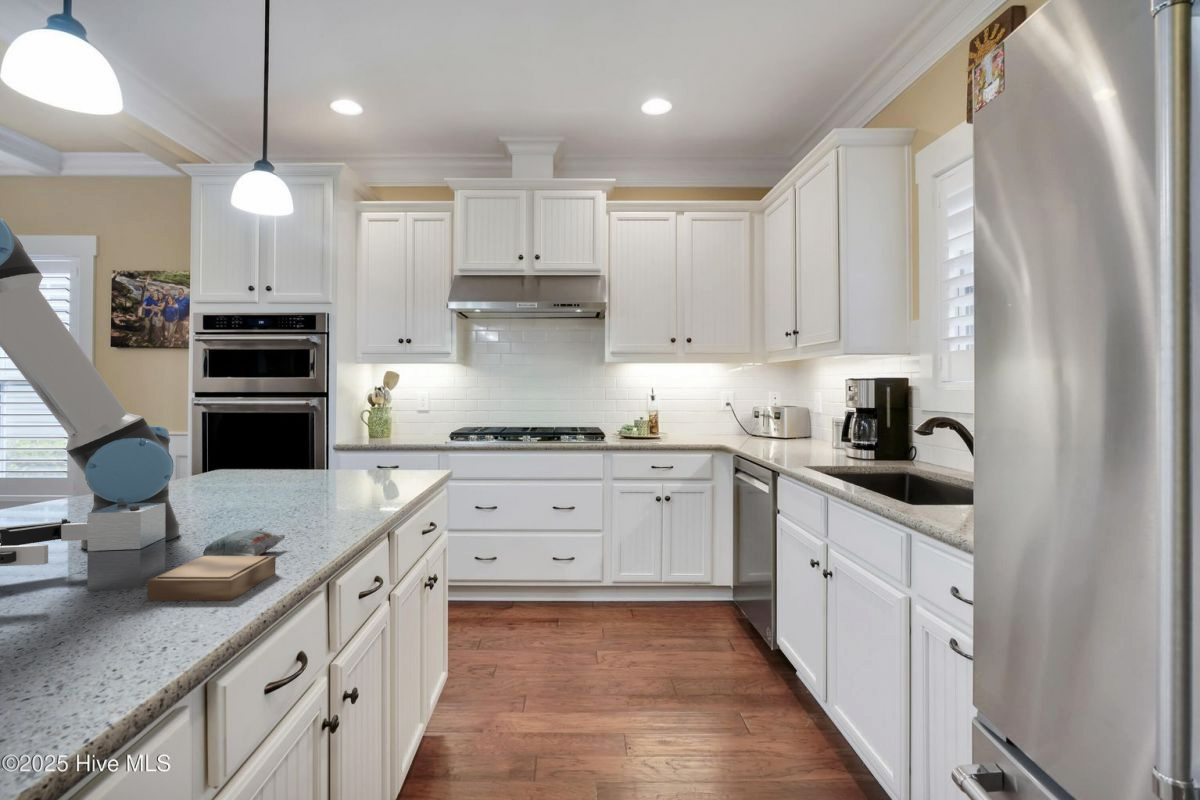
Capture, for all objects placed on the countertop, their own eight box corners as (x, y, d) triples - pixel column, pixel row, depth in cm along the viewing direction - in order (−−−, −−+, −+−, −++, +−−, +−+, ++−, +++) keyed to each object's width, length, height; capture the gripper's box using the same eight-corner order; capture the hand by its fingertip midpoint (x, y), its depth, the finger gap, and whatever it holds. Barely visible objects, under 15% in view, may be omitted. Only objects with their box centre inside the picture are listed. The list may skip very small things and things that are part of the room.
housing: (116, 575, 91) (116, 500, 91) (165, 573, 93) (165, 499, 92) (87, 591, 84) (87, 509, 84) (140, 588, 86) (140, 507, 86)
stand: (202, 573, 93) (202, 554, 93) (275, 573, 93) (275, 554, 93) (147, 600, 81) (147, 578, 81) (231, 600, 81) (231, 578, 81)
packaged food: (284, 549, 108) (284, 524, 108) (251, 568, 96) (250, 540, 96) (238, 550, 107) (238, 525, 107) (198, 570, 95) (198, 541, 95)
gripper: (-15, 548, 94) (129, 543, 99) (-188, 604, 70) (13, 594, 74) (-15, 505, 94) (129, 501, 99) (-188, 545, 70) (13, 539, 74)
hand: (80, 541), depth 86 cm, fingers open, 13 cm apart
